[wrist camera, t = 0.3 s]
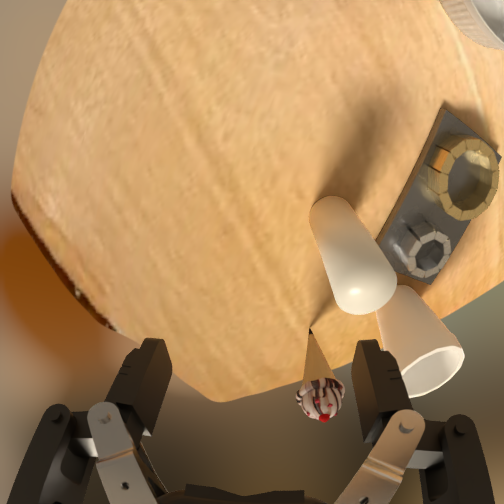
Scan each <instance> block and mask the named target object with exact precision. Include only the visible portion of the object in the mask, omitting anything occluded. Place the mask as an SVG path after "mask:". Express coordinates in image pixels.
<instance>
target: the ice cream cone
mask: <svg viewBox="0 0 504 504" xmlns="http://www.w3.org/2000/svg"><path fill="white" fill-rule="evenodd" d="M344 395H345V388H344V385H343V384H342V383H341V381H340V380H337V379H335V377H334V375H333V373H332V371H331V369H330V367H329V365H328V363H327V361H326V359H325V357H324V355H323V353H322V351H321V349H320V347H319V345H318V343H317V341H316V339H315V337H314V335H313V333H312V331H311V329H310V328H309V336H308V345H307V353H306V361H305V369H304V377H303V384H302V388H301V389H300V390H298V392H297V393H296V400H297V402H298V404H300V405H301V406H302V408H303V410H304V412H305V413H306V414H307V415H308V416H309V417H311V418H313V419H316V420H320V421H322V422H327V421H328V420H329V418H331V417H332V416H336V415H337V412H338V410H339V409H340V407H341V404H342V398H343V397H344Z"/></svg>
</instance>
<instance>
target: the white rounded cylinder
mask: <svg viewBox="0 0 504 504" xmlns="http://www.w3.org/2000/svg"><path fill="white" fill-rule="evenodd" d="M309 223H310V226H311V229H312V231H313V234H314V237H315V240H316V243H317V246H318V249H319V251H320V254H321V257H322V260H323V263H324V266H325V269H326V272H327V275H328V278H329V281H330V284H331V288H332V291H333V294H334V297H335V300H336V303H337V305H338V306H339V307H340V308H341V309H342V310H343V311H345V312H347V313H350V314H356V315H362V314H367V313H371V312H373V311H376V310H378V309H379V308H381V307H382V306H384V305H385V304H386V303H387V302H388V301H389V300H390V299H391V297H392V296H393V294H394V292H395V290H396V286H397V276H396V273H395V271H394V269H393V268H392V266H391V265H390V263H389V262H388V260H387V258H386V257H385V255H384V254H383V252H382V251H381V249H380V248H379V246H378V245H377V243H376V242H375V240H374V239H373V237H372V236H371V234H370V233H369V231H368V230H367V228H366V227H365V225H364V224H363V223H362V221H361V220H360V218H359V217H358V215H357V214H356V213H355V211H354V210H353V208H352V207H351V206H350V204H349V203H348V202H347V201H346V200H345V199H343V198H341V197H338V196H327V197H324V198H322V199H320V200H318V201H317V202H316V203H315V204H314V205H313V207H312V208H311V211H310V214H309Z"/></svg>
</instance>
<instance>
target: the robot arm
mask: <svg viewBox="0 0 504 504" xmlns="http://www.w3.org/2000/svg"><path fill="white" fill-rule="evenodd" d="M171 375H172V363H171V360H170V357H169V354H168V351H167V347H166V344H165V341H164V340H163V339H156V338H145V339H144V341H143V343H142V345H141V347H140V349H136V348H135V349H134V350H132V351H131V352H130V353H129V354H128V355H127V356H126V358H125V360H124V362H123V364H122V367H121V368H120V370H119V372H118V375H117V376H116V378H115V380H114V382H113V384H112V386H111V389H110V391H109V393H108V395H107V397H106V399H105V401H104V402H101V403H98V404H96V405H94V406H93V407H92V408H91V409H90V410H89V411H83V412H71V411H70V410H69V409H68V408H67V407H66V406H65V405H62V404H55V405H52V406H50V407H49V408H48V409H47V410H46V411H45V413H44V415H43V417H42V419H41V421H40V423H39V425H38V427H37V429H36V432H35V434H34V436H33V438H32V441H31V443H30V445H29V447H28V450H27V452H26V454H25V457H24V459H23V461H22V464H21V466H20V469H19V471H18V474H17V476H16V479H15V482H14V484H13V487H12V490H11V493H10V496H9V498H8V501H7V504H83V500H84V497H85V493H86V490H87V486H88V483H89V480H90V476H91V473H92V469H93V466H94V464H95V460H96V457H97V456H98V457H99V461H97V462H96V466H97V470H98V472H99V475H100V478H101V481H102V484H103V486H104V489H105V492H106V494H107V496H108V499H109V502H110V504H327V503H325V502H323V501H321V500H318V499H316V498H312V497H309V496H304V490H300V491H272V492H267V493H261V494H257V495H250V496H240V495H236V494H233V493H230V492H227V491H224V490H220V489H217V488H214V487H206V486H199V485H192V484H186V489H185V490H177V491H173V492H169V493H168V492H167V490H166V488H165V487H164V485H163V484H162V482H161V481H160V479H159V478H158V476H157V474H156V472H155V471H154V468H153V466H152V464H151V462H150V460H149V458H148V456H147V454H146V452H145V450H144V448H143V445H142V443H141V442H140V441H141V438H142V435H147V436H152V433H153V430H154V427H155V424H156V421H157V418H158V414H159V412H160V408H161V405H162V402H163V399H164V396H165V393H166V391H167V388H168V385H169V381H170V379H171ZM351 375H352V382H353V387H354V392H355V397H356V403H357V408H358V413H359V419H360V425H361V430H362V436H363V442H364V443H368V442H372V446H373V449H372V451H371V453H370V454H369V456H368V457H367V459H366V460H365V462H364V463H363V465H362V466H361V468H360V469H359V471H358V472H357V474H356V475H355V476H354V478H353V479H352V481H351V482H350V483H349V485H348V486H347V487H346V489H345V490H344V491H343V493H342V494H341V495H340V497H339V498H338V499H337V501H336V502H335V503H334V504H388V503H389V502H390V500H391V498H392V497H393V495H394V493H395V492H396V490H397V488H398V486H399V485H400V483H401V481H402V479H403V473H404V471H405V469H406V468H417V469H419V474H420V481H421V488H422V496H423V504H495V501H494V496H493V491H492V486H491V481H490V477H489V473H488V469H487V465H486V461H485V457H484V454H483V450H482V447H481V443H480V440H479V436H478V433H477V430H476V427H475V424H474V422H473V421H472V420H471V419H470V418H469V417H467V416H465V415H461V414H458V415H454V416H452V417H450V418H449V420H447V422H439V421H429V420H425V419H423V417H421V415H420V414H419V413H417V412H415V411H414V410H413V408H412V405H411V402H410V399H409V395H408V392H407V389H406V386H405V383H404V380H403V379H402V375H401V372H400V371H399V366H398V363H397V361H396V359H395V357H394V356H393V355H392V354H391V353H390V352H389V351H381V350H380V347H379V344H378V341H377V340H376V339H372V340H359V341H358V342H357V346H356V350H355V355H354V359H353V363H352V371H351Z"/></svg>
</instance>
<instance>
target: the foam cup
mask: <svg viewBox="0 0 504 504" xmlns="http://www.w3.org/2000/svg"><path fill="white" fill-rule="evenodd" d="M376 316H377V320H378V325H379V329H380V334H381V338H382V343H383V348H384V351H389V352H390V353H391V354H392V355H393V356H394V357H395V359H396V361H397V363H398V366H399V371H400V372H401V375H402V379H403V380H404V383H405V386H406V389H407V392H408V395H409V398H412V397H417V396H421V395H424V394H426V393H429V392H431V391H433V390H435V389H437V388H439V387H440V386H441V385H443V384H444V383H446V382H447V381H448V380H449V379H451V378H452V377H453V376H454V374H455V373H456V372H457V371H458V370H459V368H460V367H461V365H462V362H463V360H464V357H465V355H464V352H463V349H462V347H461V345H460V344H459V342H458V340H457V338H456V336H455V335H454V334H452V333H450V331H449V330H448V329H447V328H446V326H445V325H444V324H443V323H442V322H441V320H440V319H439V318H438V317H437V316H436V314H435V313H434V312H433V311H432V310H431V309H430V307H429V306H428V305H427V304H426V303H425V302H424V301H423V299H422V298H421V297H420V296H419V295H418V294H417V293H416V292H415V290H413V289H412V288H411V287H409V286H407V285H397V286H396V290H395V292H394V294H393V296H392V297H391V299H390V300H389V301H388V302H387V303H386V304H385V305H384V306H382V307H381V308H379V309H378V310H376Z"/></svg>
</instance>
